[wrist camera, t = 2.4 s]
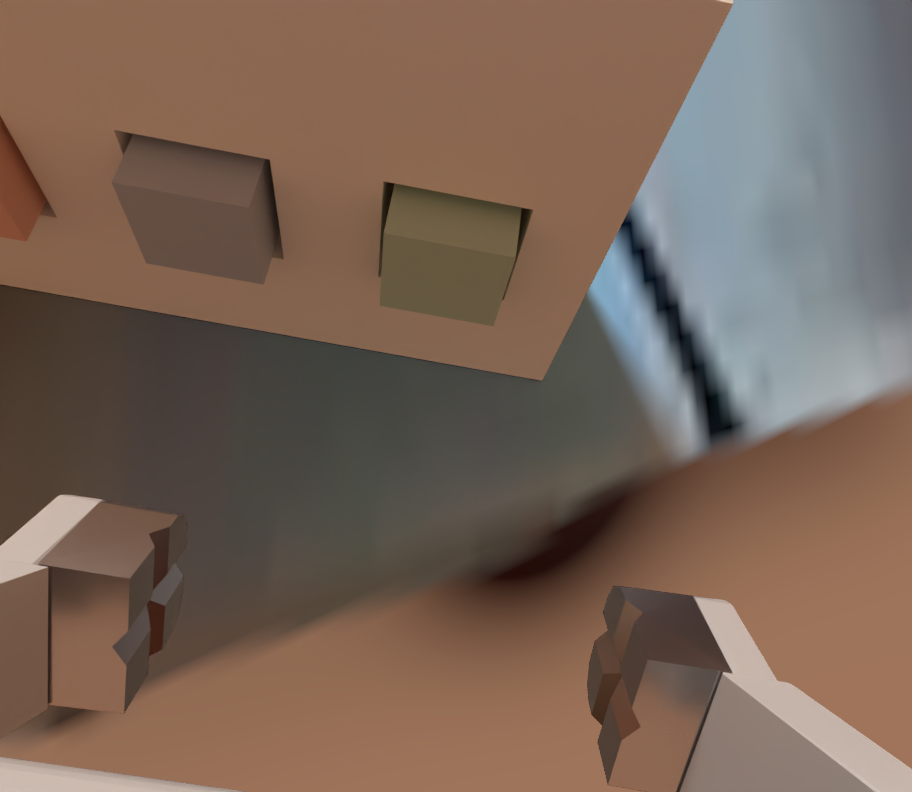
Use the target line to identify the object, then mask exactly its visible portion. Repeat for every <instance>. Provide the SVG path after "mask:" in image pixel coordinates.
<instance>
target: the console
mask: <svg viewBox="0 0 912 792" xmlns="http://www.w3.org/2000/svg"><path fill="white" fill-rule="evenodd" d="M732 5H733V0H0V116H1V118H2V119H3V121H4V123H5V125H6V127H7V128H8V130H9V132H10V134H11V136H12V137H13V139H14V141H15V143H16V144H17V146H18V148H19V150H20V152H21V153H22V155H23V157H24V159H25V161H26V162H27V164H28V166H29V168H30V170H31V171H32V173H33V175H34V177H35V179H36V180H37V182H38V184H39V186H40V188H41V189H42V191H43V193H44V195H45V197H46V198H47V201H46V203H45V205H44V207H43V209H42V211H41V213H40V215H39V217H38V219H37V221H36V223H35V225H34V227H33V229H32V231H31V234H30V236H29V238H28V240H27V242H26V241H20V240H15V239H9V238H4V237H0V284H2V285H8V286H13V287H19V288H24V289H30V290H36V291H41V292H47V293H52V294H58V295H64V296H69V297H75V298H80V299H86V300H92V301H97V302H103V303H109V304H114V305H120V306H125V307H131V308H137V309H142V310H148V311H153V312H159V313H165V314H170V315H176V316H181V317H187V318H193V319H198V320H204V321H209V322H215V323H221V324H226V325H232V326H237V327H243V328H249V329H254V330H260V331H266V332H271V333H277V334H282V335H288V336H294V337H299V338H305V339H310V340H316V341H322V342H327V343H333V344H338V345H344V346H350V347H355V348H361V349H366V350H372V351H378V352H383V353H389V354H395V355H400V356H406V357H411V358H417V359H423V360H428V361H434V362H439V363H445V364H451V365H456V366H462V367H467V368H473V369H479V370H484V371H490V372H495V373H501V374H507V375H512V376H518V377H523V378H529V379H535V380H540V381H542V380H543V378H544V376H545V374H546V372H547V370H548V368H549V366H550V364H551V363H552V361H553V359H554V357H555V355H556V353H557V351H558V349H559V347H560V345H561V343H562V341H563V339H564V337H565V335H566V333H567V331H568V329H569V327H570V325H571V323H572V321H573V319H574V317H575V315H576V313H577V311H578V309H579V307H580V305H581V303H582V301H583V299H584V297H585V295H586V293H587V291H588V289H589V287H590V285H591V284H592V282H593V280H594V278H595V276H596V274H597V272H598V270H599V268H600V266H601V264H602V262H603V260H604V258H605V256H606V254H607V252H608V250H609V248H610V246H611V244H612V242H613V240H614V238H615V236H616V234H617V232H618V230H619V228H620V226H621V224H622V222H623V220H624V218H625V216H626V214H627V212H628V210H629V208H630V207H631V205H632V203H633V201H634V199H635V197H636V195H637V193H638V191H639V189H640V187H641V185H642V183H643V181H644V179H645V177H646V175H647V173H648V171H649V169H650V167H651V165H652V163H653V161H654V159H655V157H656V155H657V153H658V151H659V149H660V147H661V145H662V143H663V141H664V139H665V137H666V135H667V133H668V131H669V129H670V128H671V126H672V124H673V122H674V120H675V118H676V116H677V114H678V112H679V110H680V108H681V106H682V104H683V102H684V100H685V98H686V96H687V94H688V92H689V90H690V88H691V86H692V84H693V82H694V80H695V78H696V76H697V74H698V72H699V70H700V68H701V66H702V64H703V62H704V60H705V58H706V56H707V54H708V52H709V51H710V49H711V47H712V45H713V43H714V41H715V39H716V37H717V35H718V33H719V31H720V29H721V27H722V25H723V23H724V21H725V19H726V17H727V15H728V13H729V11H730V9H731V7H732ZM133 134H138V135H143V136H148V137H154V138H159V139H164V140H169V141H175V142H180V143H185V144H190V145H196V146H201V147H206V148H211V149H217V150H222V151H227V152H232V153H238V154H243V155H248V156H253V157H259V158H264V159H269V160H270V165H271V172H272V179H273V186H274V193H275V200H276V207H277V214H278V221H279V228H280V233H279V236H278V239H277V243H276V246H275V249H274V252H273V256H272V259H271V262H270V266H269V269H268V272H267V276H266V279H265V282H264V285H263V284H257V283H252V282H246V281H241V280H235V279H230V278H224V277H219V276H213V275H208V274H202V273H197V272H191V271H186V270H180V269H175V268H169V267H164V266H158V265H152V264H147V263H146V262H145V260H144V257H143V255H142V253H141V250H140V248H139V245H138V243H137V241H136V238H135V236H134V234H133V231H132V229H131V227H130V224H129V222H128V220H127V217H126V215H125V213H124V210H123V208H122V206H121V203H120V201H119V199H118V196H117V194H116V192H115V189H114V187H113V185H112V180H113V178H114V176H115V173H116V171H117V169H118V167H119V164H120V162H121V160H122V158H123V155H124V153H125V151H126V149H127V147H128V144H129V142H130V140H131V138H132V135H133ZM394 184H401V185H406V186H411V187H416V188H422V189H427V190H432V191H437V192H443V193H448V194H453V195H458V196H464V197H469V198H474V199H479V200H485V201H490V202H495V203H500V204H506V205H511V206H516V207H521V208H522V211H521V219H520V227H519V236H518V244H517V252H516V259H515V262H514V265H513V268H512V271H511V274H510V277H509V280H508V283H507V286H506V289H505V292H504V295H503V299H502V302H501V305H500V308H499V311H498V314H497V317H496V320H495V323H494V326H488V325H483V324H477V323H472V322H466V321H461V320H455V319H450V318H444V317H439V316H433V315H428V314H422V313H417V312H411V311H406V310H400V309H395V308H389V307H384V306H380V288H381V270H382V253H383V235H384V229H385V225H386V220H387V216H388V211H389V207H390V202H391V198H392V193H393V189H394Z"/></svg>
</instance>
